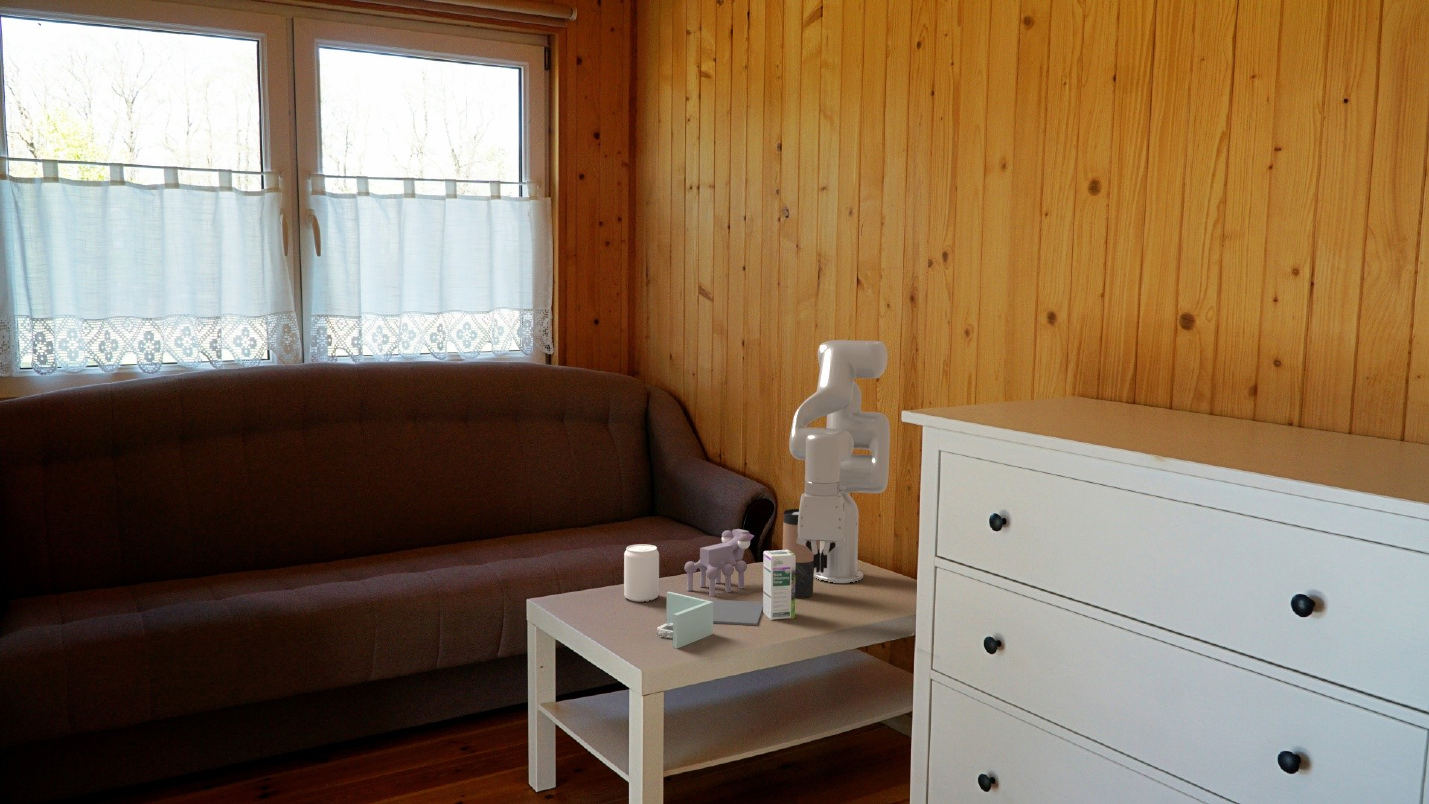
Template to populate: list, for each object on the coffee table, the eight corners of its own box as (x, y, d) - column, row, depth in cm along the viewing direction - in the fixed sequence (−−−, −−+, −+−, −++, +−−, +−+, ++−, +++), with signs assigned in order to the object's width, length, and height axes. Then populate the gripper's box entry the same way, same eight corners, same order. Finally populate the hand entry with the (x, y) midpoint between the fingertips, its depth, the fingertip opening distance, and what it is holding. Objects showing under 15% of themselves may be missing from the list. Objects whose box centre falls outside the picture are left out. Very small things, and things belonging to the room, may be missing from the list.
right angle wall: (668, 625, 233) (669, 591, 233) (712, 636, 226) (713, 601, 225) (632, 639, 224) (632, 604, 223) (676, 651, 217) (677, 615, 216)
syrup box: (770, 620, 236) (771, 555, 234) (762, 612, 241) (763, 549, 240) (795, 618, 237) (796, 554, 236) (786, 611, 243) (787, 548, 241)
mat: (679, 599, 251) (679, 597, 250) (764, 604, 248) (764, 602, 248) (666, 620, 235) (666, 618, 235) (756, 625, 232) (756, 623, 232)
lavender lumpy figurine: (737, 574, 273) (740, 522, 271) (768, 585, 266) (771, 531, 264) (680, 589, 259) (682, 534, 257) (711, 600, 252) (714, 544, 250)
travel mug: (819, 593, 258) (821, 511, 255) (804, 600, 251) (805, 516, 249) (791, 588, 262) (793, 507, 260) (775, 595, 255) (777, 512, 253)
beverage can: (632, 591, 257) (632, 542, 256) (663, 595, 254) (664, 545, 253) (618, 600, 249) (618, 550, 248) (650, 604, 247) (650, 553, 245)
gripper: (856, 487, 237) (854, 568, 239) (789, 484, 240) (787, 565, 241) (856, 493, 230) (853, 577, 232) (786, 490, 232) (784, 573, 234)
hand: (820, 571), depth 236 cm, fingers closed
